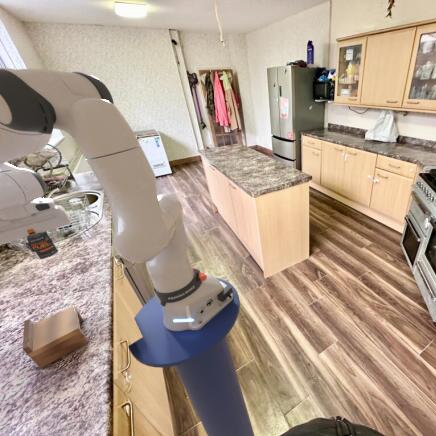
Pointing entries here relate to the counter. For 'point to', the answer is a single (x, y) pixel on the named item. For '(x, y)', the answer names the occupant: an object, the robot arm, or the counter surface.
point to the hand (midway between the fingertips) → (41, 245)
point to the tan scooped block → (53, 336)
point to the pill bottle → (40, 244)
